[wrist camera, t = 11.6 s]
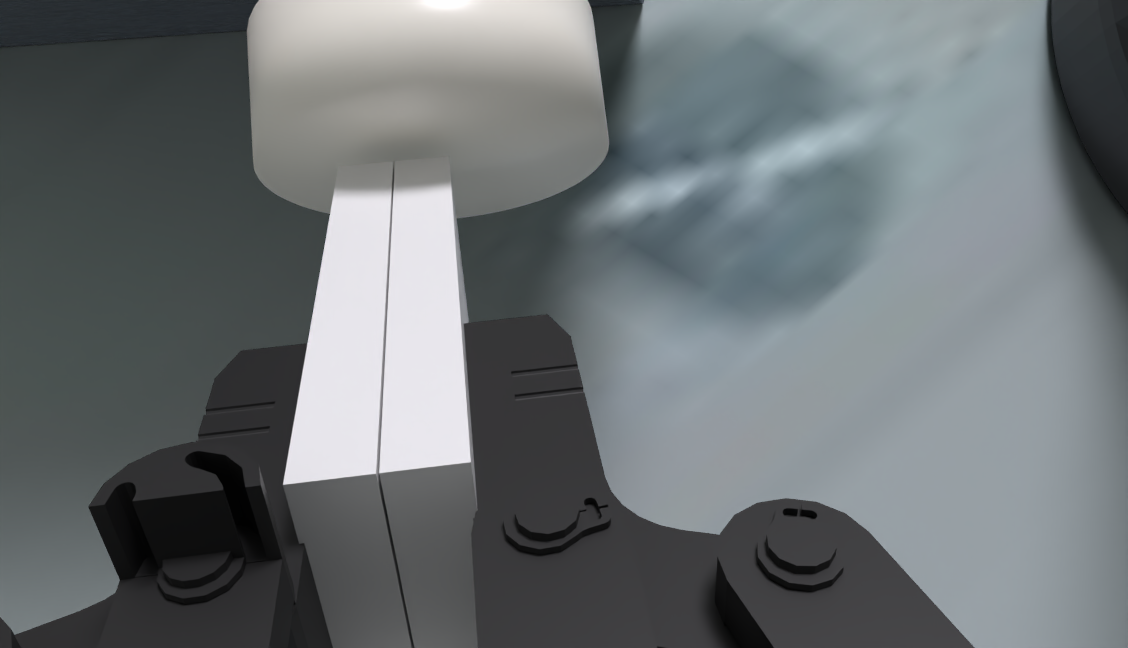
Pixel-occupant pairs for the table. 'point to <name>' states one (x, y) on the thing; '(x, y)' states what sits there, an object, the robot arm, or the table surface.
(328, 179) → the knob
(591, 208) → the table surface
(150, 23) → the grey puzzle box
